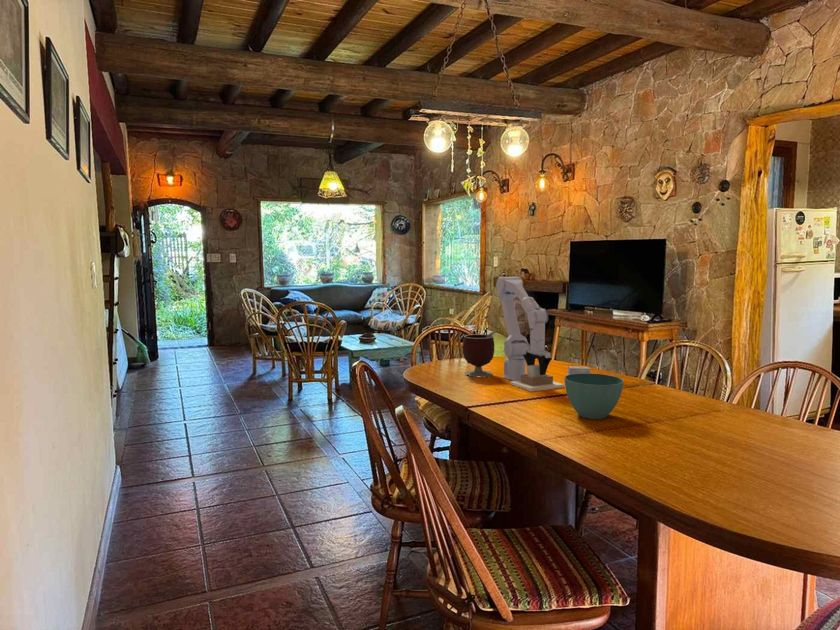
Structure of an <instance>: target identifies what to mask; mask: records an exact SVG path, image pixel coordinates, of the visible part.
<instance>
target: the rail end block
mask: <svg viewBox="0 0 840 630" xmlns="http://www.w3.org/2000/svg"><path fill="white" fill-rule="evenodd" d="M526 371H527V372H526V374H527V376H529V377H533V378H536V377H544V376H545V375H546V374H545V375H540V367H539V364H535V365H529V366H527V365H526Z"/></svg>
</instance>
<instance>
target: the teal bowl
mask: <svg viewBox="0 0 840 630" xmlns="http://www.w3.org/2000/svg"><path fill="white" fill-rule="evenodd" d="M624 383H625V382H624V379H622V378H621V377H618V376H614V375H610V374H603V373H592V372H590V373H578V374H570V375H568V374H566V375H565V376H564V388H565V392H566V396H567V398H568V400H569V402H570V404H571V406H572V407H573V409H574V410H575V413H577V414H578V416H580V417H582V418H584V419H590V420H602V419H605V418H607V417H608V416H609V415H610V414H611V413H612V411H613V410H614V409H615V408H616V406H617V405H618V403H619V401H620V398H621V396H622V391H623V388H624Z"/></svg>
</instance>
